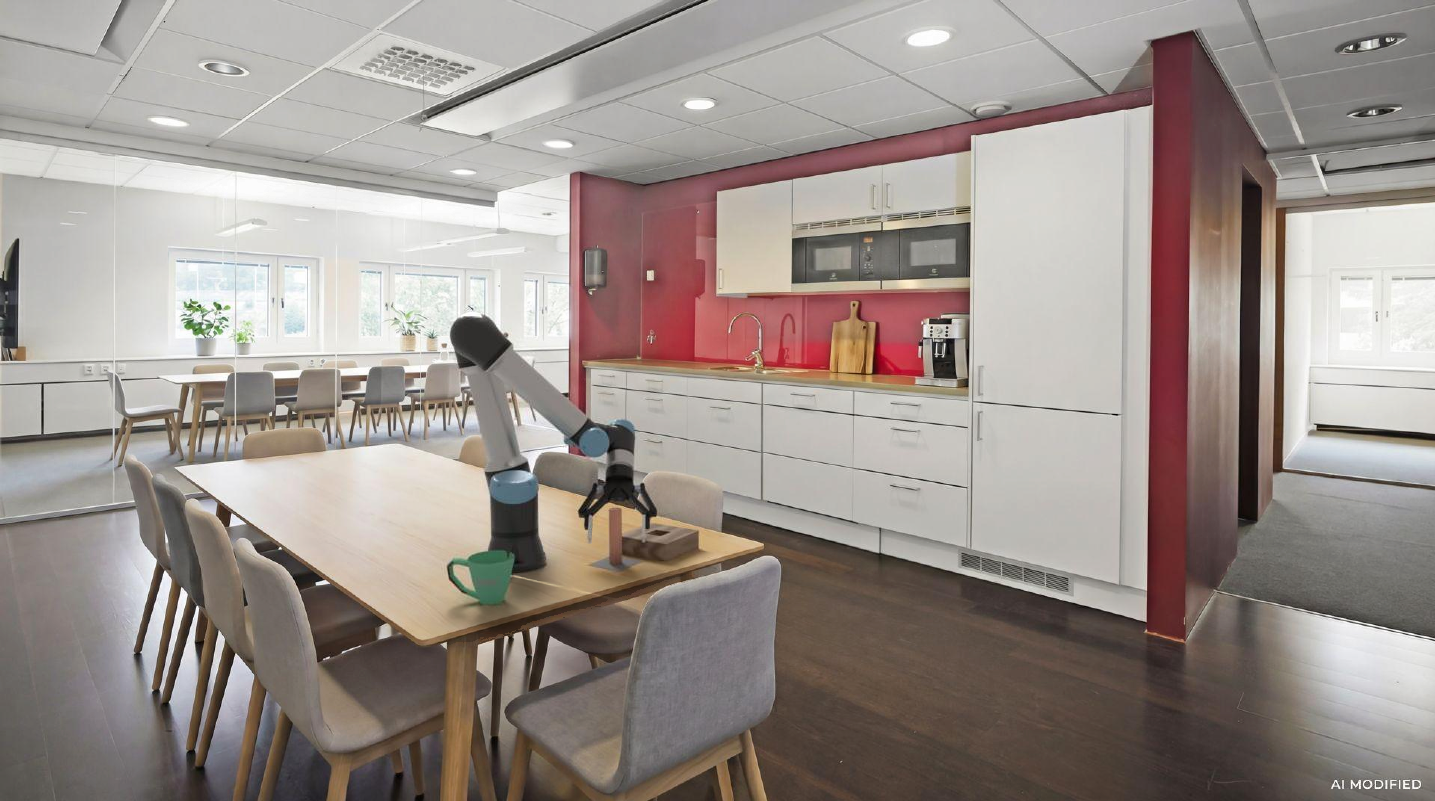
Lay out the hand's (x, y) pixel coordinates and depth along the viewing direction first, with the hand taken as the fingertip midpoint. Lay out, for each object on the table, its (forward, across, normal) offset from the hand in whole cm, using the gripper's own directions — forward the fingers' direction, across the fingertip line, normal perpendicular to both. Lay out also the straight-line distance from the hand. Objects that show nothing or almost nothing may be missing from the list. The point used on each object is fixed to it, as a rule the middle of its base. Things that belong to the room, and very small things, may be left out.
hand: (616, 540), depth 188 cm
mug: (+21, +28, +11) cm, 37 cm away
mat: (+4, 0, -6) cm, 7 cm away
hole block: (-5, -10, -15) cm, 18 cm away
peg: (+3, 0, -6) cm, 7 cm away
